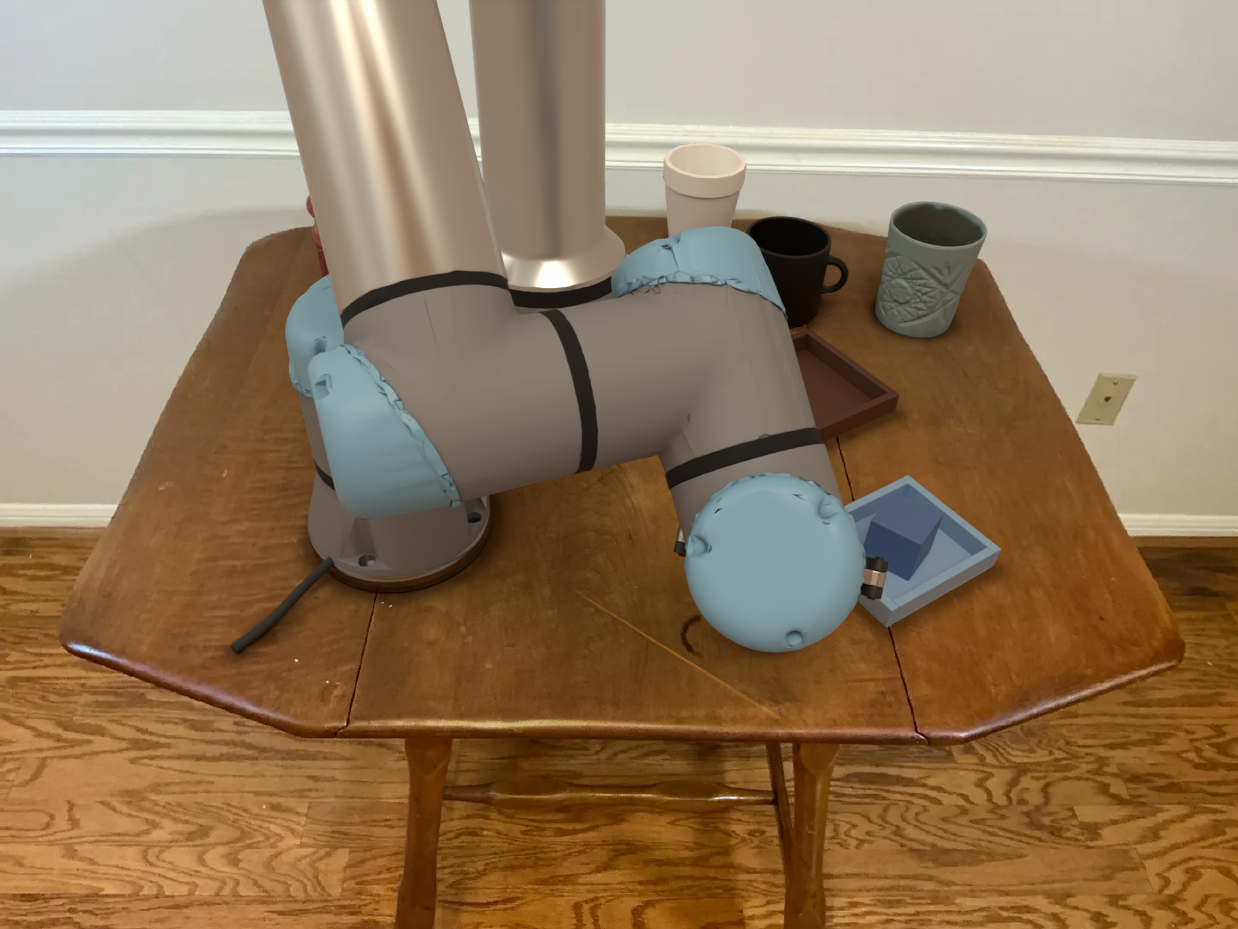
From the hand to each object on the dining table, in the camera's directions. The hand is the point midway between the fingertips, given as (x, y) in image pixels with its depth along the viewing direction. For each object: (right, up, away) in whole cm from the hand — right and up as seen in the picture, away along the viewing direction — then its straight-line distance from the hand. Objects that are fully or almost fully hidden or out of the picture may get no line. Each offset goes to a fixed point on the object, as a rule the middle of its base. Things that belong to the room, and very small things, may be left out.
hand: (781, 552), depth 76 cm
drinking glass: (+21, +24, +33) cm, 45 cm away
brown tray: (+4, +13, +20) cm, 24 cm away
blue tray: (+10, -1, +4) cm, 11 cm away
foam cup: (-4, +32, +41) cm, 52 cm away
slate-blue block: (+10, 0, +4) cm, 11 cm away
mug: (+7, +25, +34) cm, 42 cm away
